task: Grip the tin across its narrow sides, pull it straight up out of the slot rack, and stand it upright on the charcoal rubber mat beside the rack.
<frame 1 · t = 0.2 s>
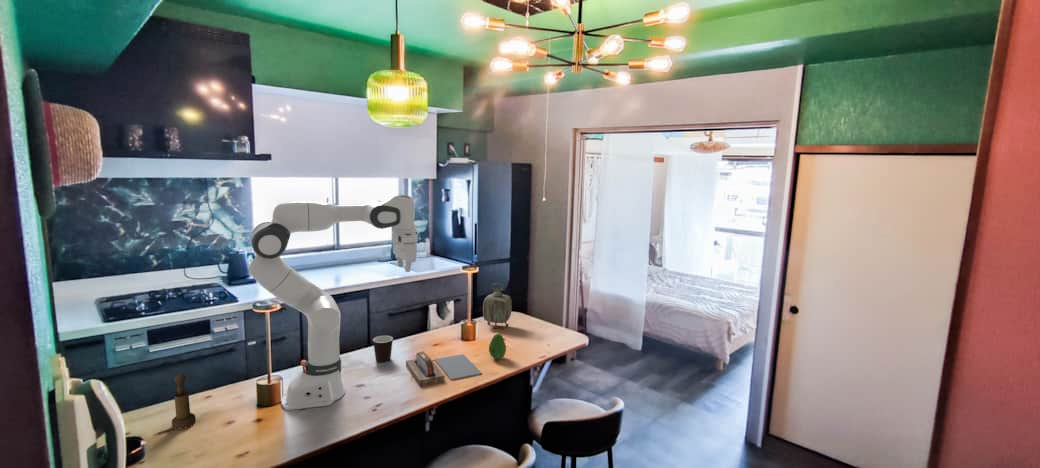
hand: (404, 269, 193), 47 cm above the counter, fingers open, 8 cm apart
mat: (457, 367, 213), on the counter
tin: (424, 374, 206), resting in rack
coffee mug: (384, 359, 219), on the counter
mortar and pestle: (184, 425, 163), on the counter
rack: (424, 373, 206), on the counter
avocado: (497, 359, 223), on the counter
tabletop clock: (496, 327, 264), on the counter
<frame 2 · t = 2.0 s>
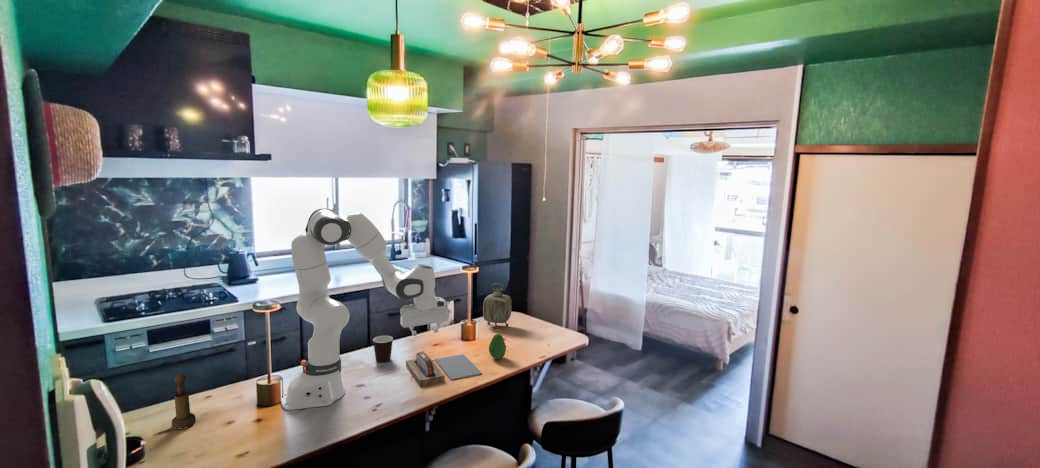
hand: (425, 333, 203), 18 cm above the counter, fingers open, 8 cm apart
nothing on the counter moved.
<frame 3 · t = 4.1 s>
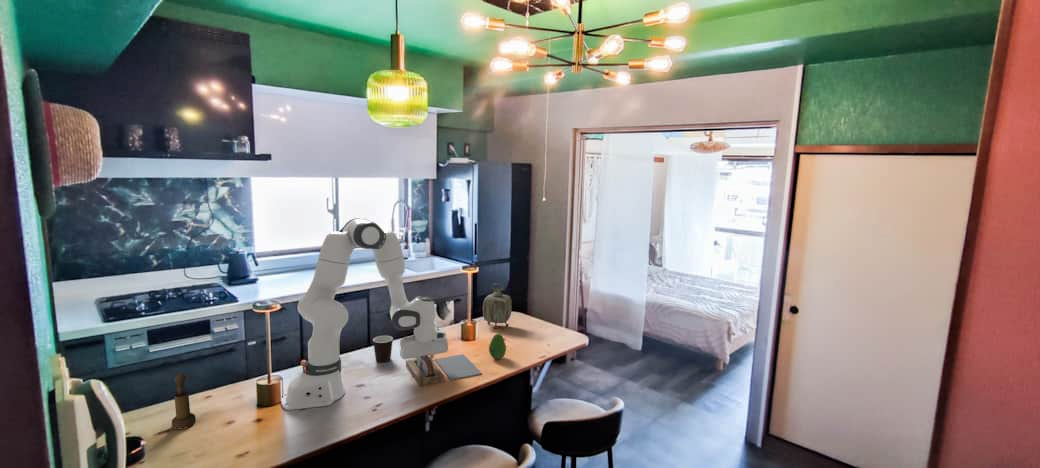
hand: (424, 364, 205), 4 cm above the counter, fingers closed on tin, 3 cm apart
tin: (424, 373, 206), resting in rack, touching gripper
everything else where it was.
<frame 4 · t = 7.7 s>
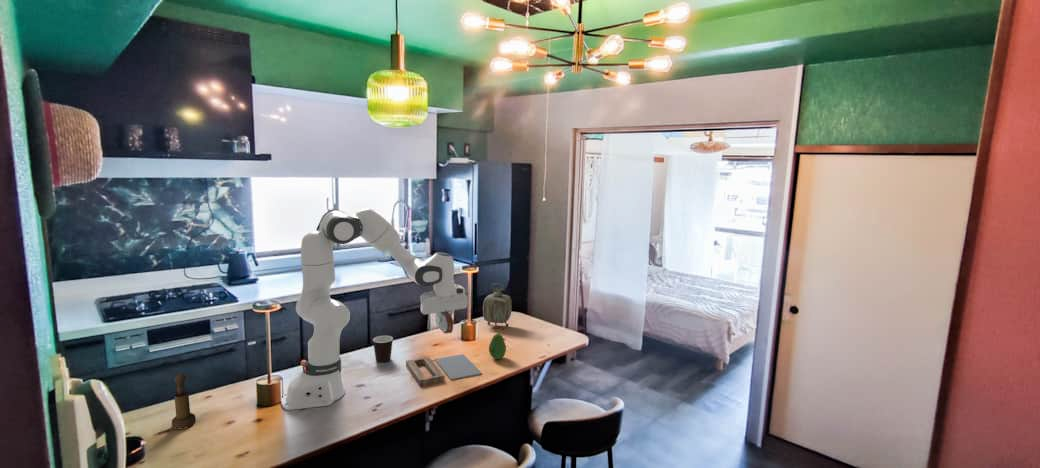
hand: (444, 320, 207), 22 cm above the counter, fingers closed on tin, 2 cm apart
tin: (443, 330, 207), point 18 cm above the counter, touching gripper
everything else where it was.
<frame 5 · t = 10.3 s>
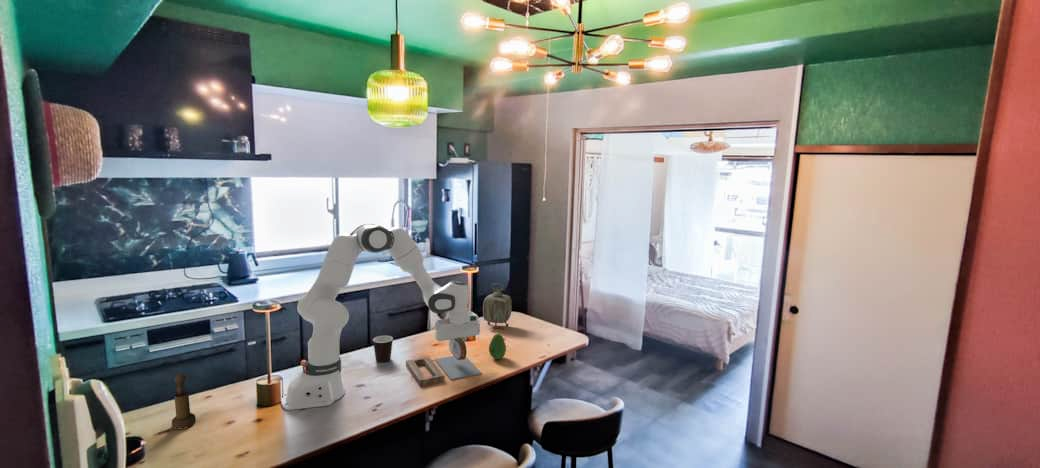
hand: (457, 347, 212), 9 cm above the counter, fingers closed on tin, 2 cm apart
tin: (456, 356, 212), point 5 cm above the counter, touching gripper
everything else where it was.
when the fingers open (6 cm above the counter, at t = 11.8 s): tin moves 2 cm, resting on mat.
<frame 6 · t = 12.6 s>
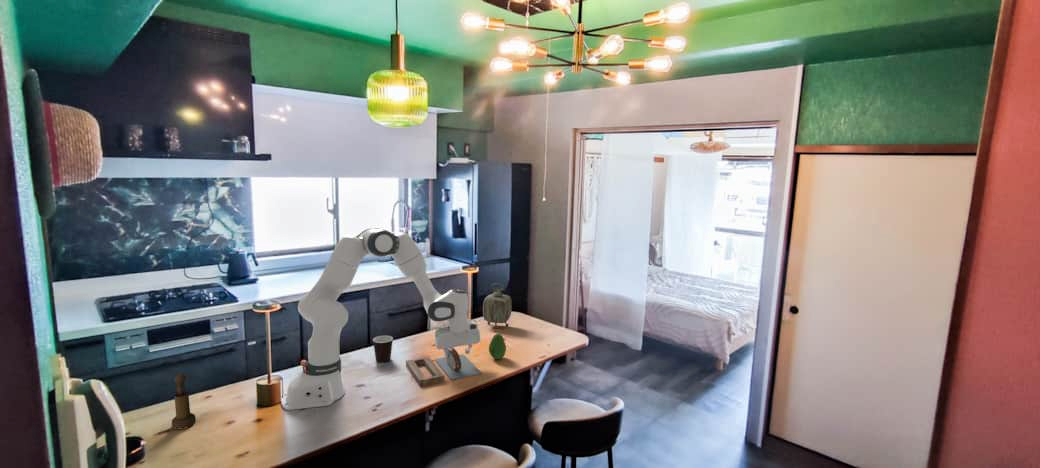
hand: (457, 355, 212), 6 cm above the counter, fingers open, 8 cm apart
tin: (452, 366, 212), resting on mat, touching gripper
everything else where it was.
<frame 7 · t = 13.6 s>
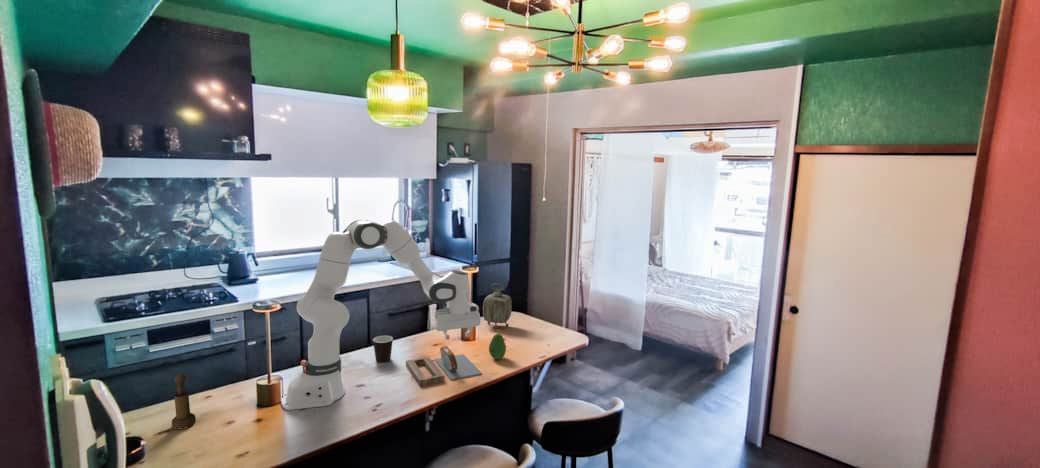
hand: (457, 337, 210), 14 cm above the counter, fingers open, 8 cm apart
tin: (449, 367, 211), resting on mat
everything else where it was.
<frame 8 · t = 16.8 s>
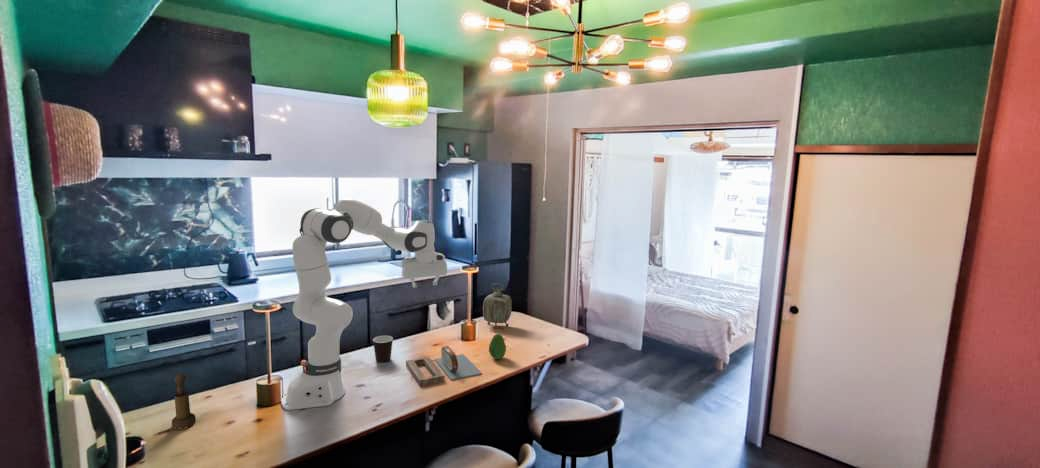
hand: (424, 286, 217), 34 cm above the counter, fingers open, 8 cm apart
nothing on the counter moved.
at the end: tin inside the target area on the mat (4.0 cm from its centre), point 0.4 cm above the mat's base; tin tilted 0°; the gripper is holding nothing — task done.
